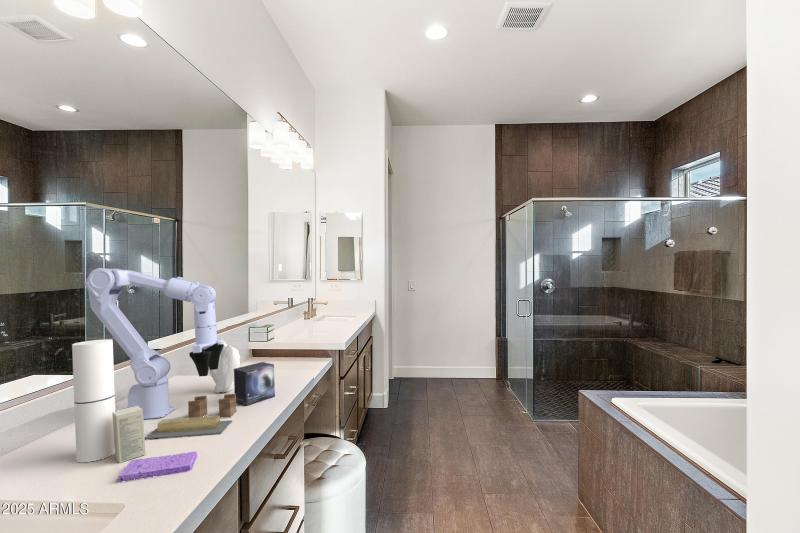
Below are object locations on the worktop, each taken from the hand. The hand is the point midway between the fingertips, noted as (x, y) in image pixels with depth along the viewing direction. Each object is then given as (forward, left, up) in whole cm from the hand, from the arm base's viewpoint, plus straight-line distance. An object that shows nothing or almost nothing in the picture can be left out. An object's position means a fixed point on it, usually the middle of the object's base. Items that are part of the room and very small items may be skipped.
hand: (208, 372), depth 118 cm
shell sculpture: (-2, +17, -11) cm, 20 cm away
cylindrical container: (-14, -28, -11) cm, 33 cm away
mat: (+1, -17, -10) cm, 20 cm away
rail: (+1, -17, -10) cm, 20 cm away
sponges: (+4, -37, -11) cm, 39 cm away
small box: (+11, +5, -11) cm, 17 cm away
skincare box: (-6, -30, -11) cm, 32 cm away
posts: (+3, -7, -10) cm, 13 cm away
